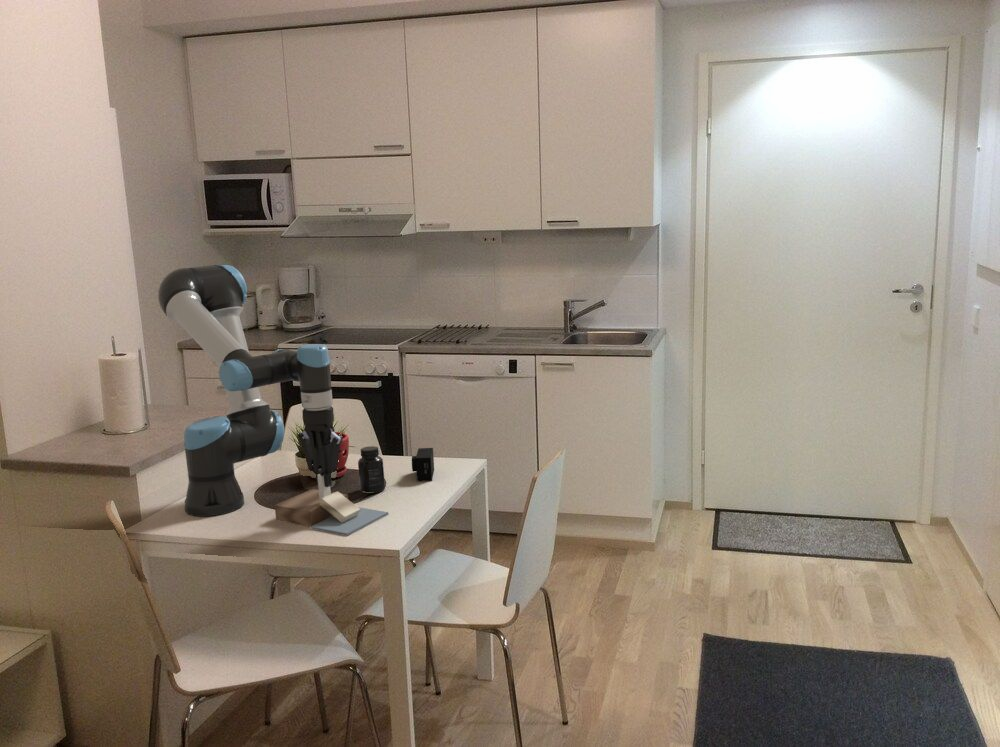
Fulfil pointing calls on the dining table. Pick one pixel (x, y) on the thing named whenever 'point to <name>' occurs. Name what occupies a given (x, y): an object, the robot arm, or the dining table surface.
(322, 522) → the rubber mat
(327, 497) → the birch tile
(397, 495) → the dining table surface
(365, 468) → the supplement bottle
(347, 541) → the dining table surface
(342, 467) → the plant pot
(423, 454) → the digital camera
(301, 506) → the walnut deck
